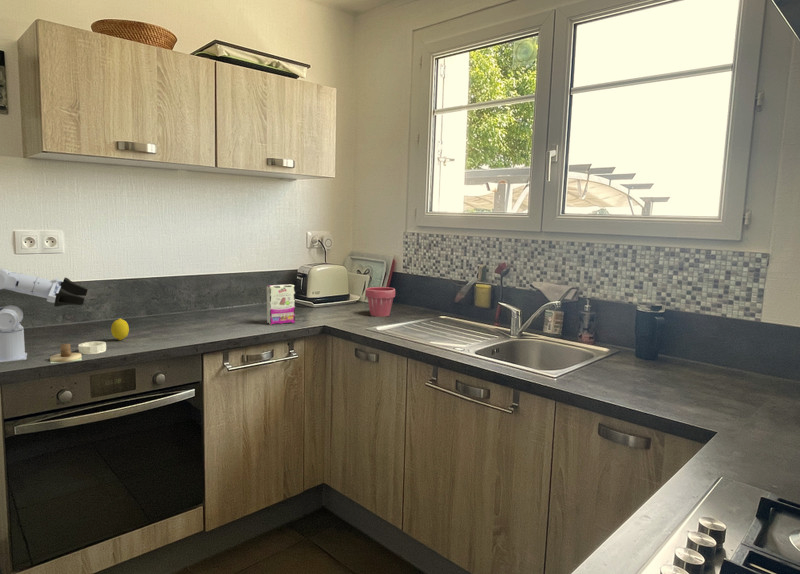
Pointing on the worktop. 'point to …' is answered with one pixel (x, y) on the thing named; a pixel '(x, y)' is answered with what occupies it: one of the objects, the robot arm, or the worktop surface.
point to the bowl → (92, 347)
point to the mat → (74, 360)
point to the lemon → (119, 329)
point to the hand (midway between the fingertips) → (85, 296)
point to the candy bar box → (280, 304)
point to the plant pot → (380, 300)
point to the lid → (65, 354)
